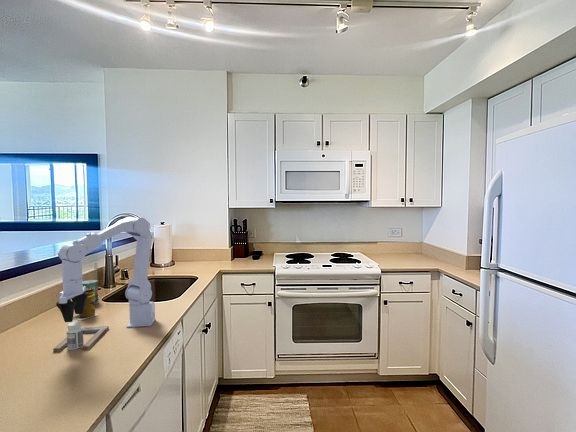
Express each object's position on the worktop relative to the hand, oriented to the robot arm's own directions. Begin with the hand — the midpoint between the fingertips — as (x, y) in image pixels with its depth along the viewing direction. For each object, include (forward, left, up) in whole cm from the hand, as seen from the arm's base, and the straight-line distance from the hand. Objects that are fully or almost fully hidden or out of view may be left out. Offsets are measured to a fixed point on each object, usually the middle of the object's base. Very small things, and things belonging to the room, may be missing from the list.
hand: (74, 317), depth 113 cm
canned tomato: (+16, -51, -11) cm, 54 cm away
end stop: (0, -14, -10) cm, 17 cm away
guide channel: (0, -5, -10) cm, 11 cm away
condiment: (+10, -32, -11) cm, 35 cm away
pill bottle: (0, 0, -11) cm, 11 cm away
